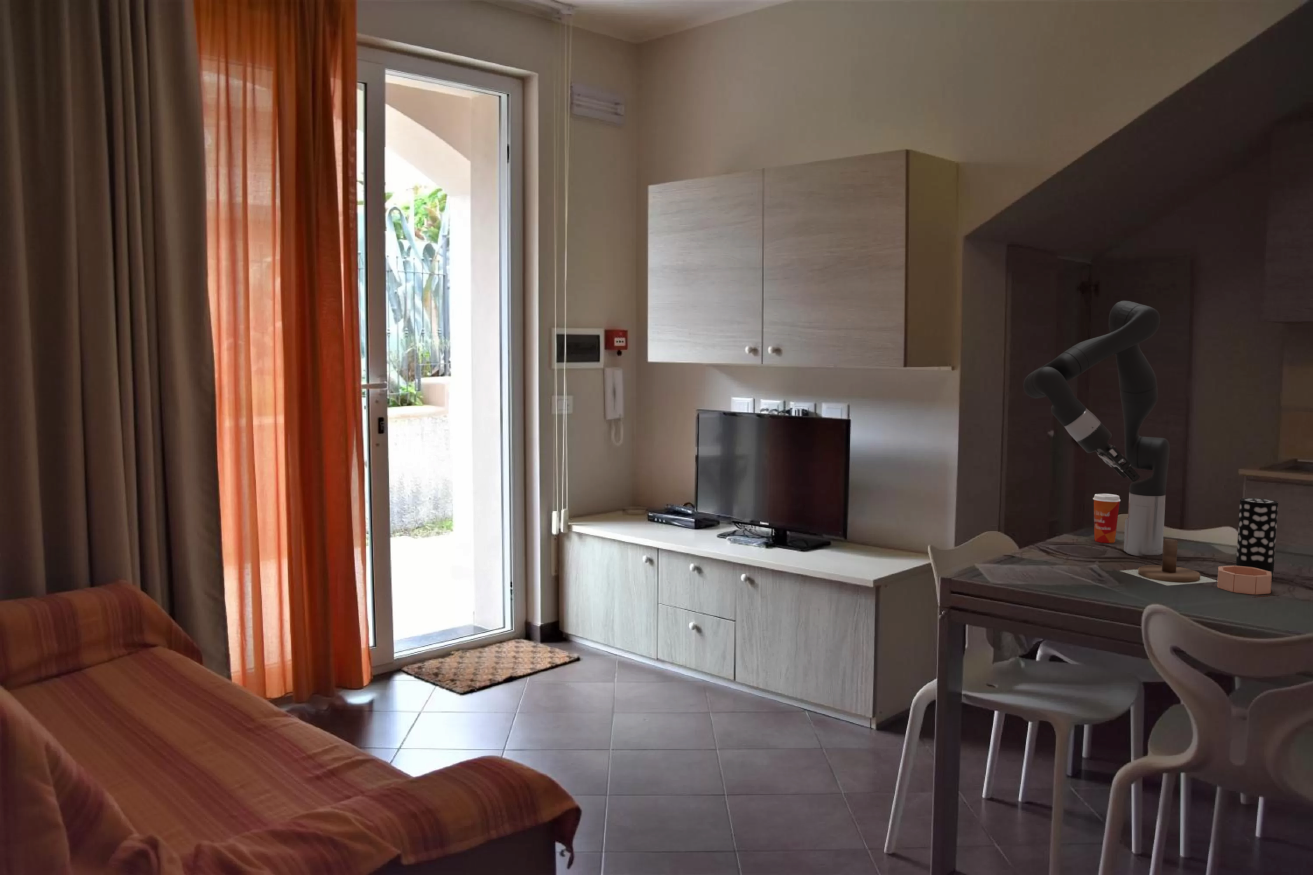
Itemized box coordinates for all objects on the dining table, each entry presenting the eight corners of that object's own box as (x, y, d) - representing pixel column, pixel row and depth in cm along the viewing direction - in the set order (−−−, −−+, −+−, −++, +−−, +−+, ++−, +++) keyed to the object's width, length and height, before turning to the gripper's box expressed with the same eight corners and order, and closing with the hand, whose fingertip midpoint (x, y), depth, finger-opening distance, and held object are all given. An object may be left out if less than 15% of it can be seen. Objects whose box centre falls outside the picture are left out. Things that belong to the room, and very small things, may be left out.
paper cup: (1085, 539, 303) (1087, 493, 302) (1105, 538, 305) (1108, 492, 304) (1103, 544, 296) (1106, 497, 294) (1124, 543, 298) (1127, 496, 297)
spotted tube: (1227, 575, 257) (1232, 499, 255) (1251, 573, 260) (1255, 497, 258) (1257, 583, 250) (1262, 504, 248) (1280, 580, 253) (1286, 502, 251)
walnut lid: (1125, 571, 258) (1127, 536, 257) (1169, 568, 262) (1171, 533, 261) (1167, 584, 245) (1169, 547, 244) (1213, 580, 249) (1215, 544, 248)
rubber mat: (1119, 573, 259) (1119, 570, 259) (1169, 569, 263) (1170, 566, 263) (1166, 588, 244) (1167, 585, 244) (1219, 584, 248) (1219, 581, 248)
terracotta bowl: (1206, 587, 245) (1207, 567, 245) (1242, 584, 248) (1243, 564, 248) (1244, 598, 235) (1245, 577, 234) (1281, 595, 238) (1282, 574, 237)
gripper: (1106, 422, 246) (1152, 471, 245) (1091, 418, 260) (1135, 464, 259) (1082, 442, 248) (1128, 491, 247) (1068, 437, 262) (1111, 483, 261)
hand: (1131, 477), depth 253 cm, fingers open, 8 cm apart
